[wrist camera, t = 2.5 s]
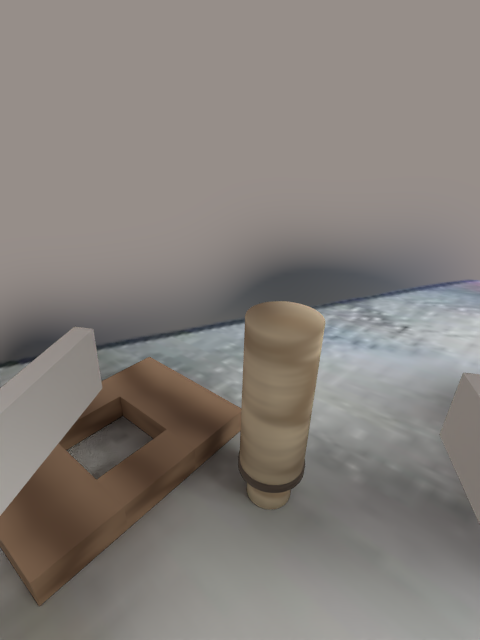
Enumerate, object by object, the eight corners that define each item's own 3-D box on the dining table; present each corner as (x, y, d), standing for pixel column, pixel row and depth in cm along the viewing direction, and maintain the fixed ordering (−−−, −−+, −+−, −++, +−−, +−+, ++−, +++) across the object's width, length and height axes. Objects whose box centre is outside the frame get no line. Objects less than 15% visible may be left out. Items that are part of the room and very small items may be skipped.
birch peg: (261, 455, 34) (274, 294, 27) (311, 486, 31) (341, 316, 24) (224, 492, 30) (226, 318, 23) (277, 532, 27) (299, 348, 20)
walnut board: (151, 374, 44) (149, 356, 43) (242, 429, 37) (243, 409, 36) (-43, 481, 30) (-53, 460, 29) (39, 606, 23) (30, 583, 22)
